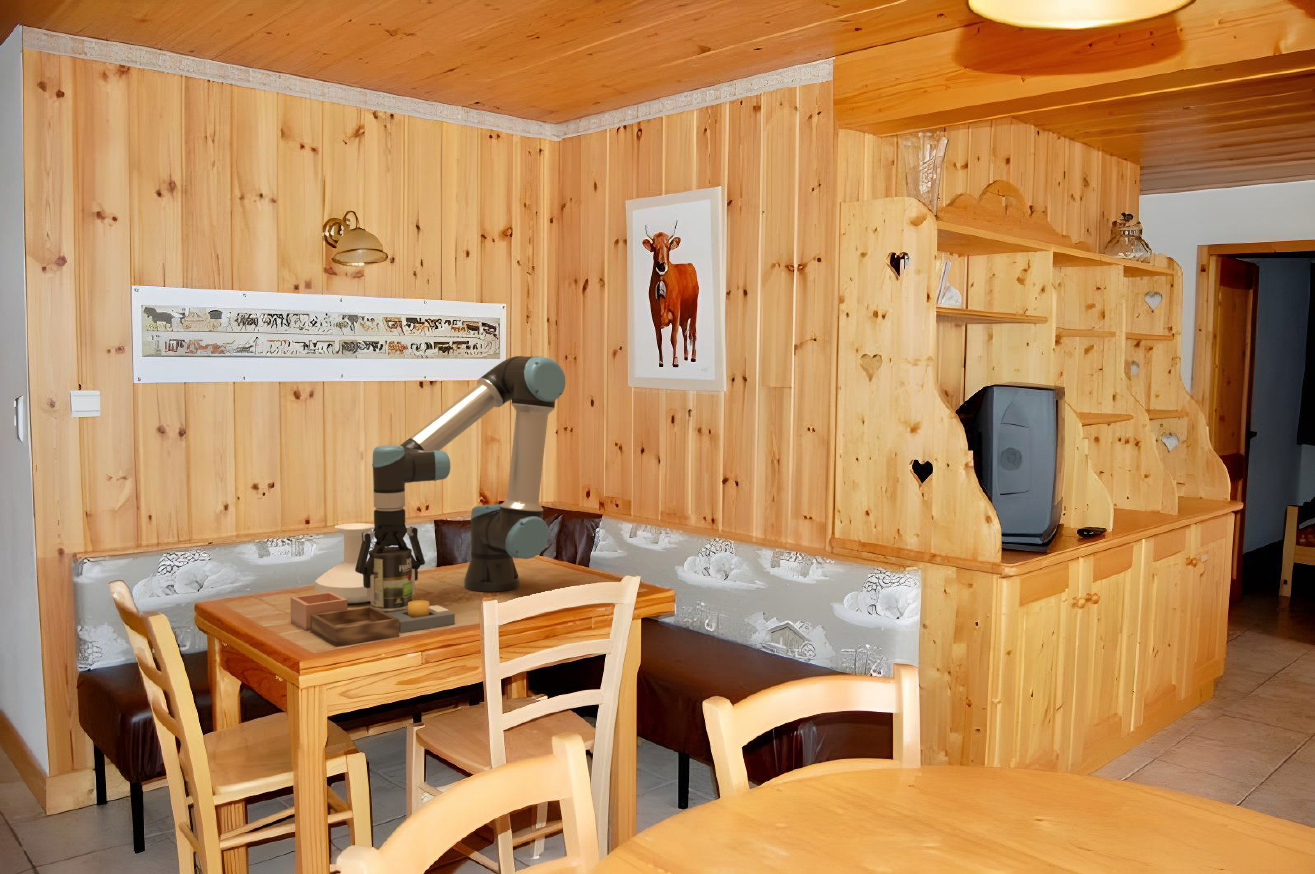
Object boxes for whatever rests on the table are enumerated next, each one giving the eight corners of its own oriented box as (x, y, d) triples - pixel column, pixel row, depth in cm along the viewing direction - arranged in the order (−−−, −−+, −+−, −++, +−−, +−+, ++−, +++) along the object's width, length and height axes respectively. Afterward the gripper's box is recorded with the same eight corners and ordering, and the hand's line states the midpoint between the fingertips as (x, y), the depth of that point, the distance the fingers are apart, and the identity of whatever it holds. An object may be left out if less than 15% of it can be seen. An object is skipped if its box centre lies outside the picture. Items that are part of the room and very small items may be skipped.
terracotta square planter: (331, 615, 258) (331, 591, 257) (347, 624, 250) (347, 599, 250) (290, 621, 252) (290, 597, 251) (306, 630, 244) (305, 605, 243)
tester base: (435, 615, 260) (435, 603, 260) (454, 624, 252) (454, 611, 252) (382, 623, 251) (382, 610, 251) (400, 632, 244) (400, 619, 243)
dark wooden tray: (371, 622, 252) (371, 606, 252) (399, 636, 241) (399, 619, 241) (310, 631, 243) (310, 614, 243) (335, 646, 231) (335, 628, 231)
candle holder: (315, 592, 283) (314, 521, 281) (391, 588, 289) (391, 519, 287) (315, 609, 264) (314, 534, 262) (396, 605, 270) (396, 531, 268)
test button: (423, 615, 255) (423, 599, 255) (432, 619, 252) (432, 603, 251) (404, 618, 252) (404, 601, 252) (413, 622, 248) (413, 606, 248)
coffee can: (419, 602, 264) (418, 547, 263) (401, 612, 254) (400, 555, 253) (381, 600, 266) (380, 545, 265) (362, 610, 256) (361, 553, 255)
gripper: (424, 502, 268) (426, 587, 270) (339, 511, 254) (341, 601, 256) (438, 505, 262) (439, 593, 264) (351, 515, 248) (353, 607, 250)
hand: (391, 597), depth 260 cm, fingers closed on coffee can, 10 cm apart
